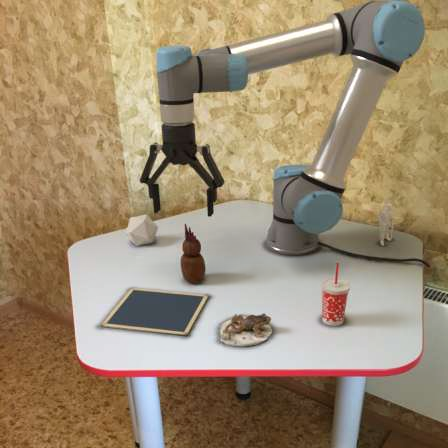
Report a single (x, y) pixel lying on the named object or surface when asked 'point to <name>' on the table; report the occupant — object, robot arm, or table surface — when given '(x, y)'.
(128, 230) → the die
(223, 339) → the frog figurine
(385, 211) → the action figure
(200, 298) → the framed chalkboard
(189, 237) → the wooden figurine
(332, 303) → the beverage cup
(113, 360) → the table surface
